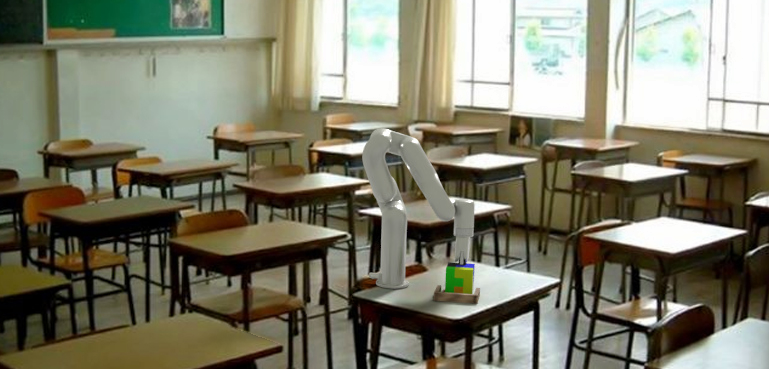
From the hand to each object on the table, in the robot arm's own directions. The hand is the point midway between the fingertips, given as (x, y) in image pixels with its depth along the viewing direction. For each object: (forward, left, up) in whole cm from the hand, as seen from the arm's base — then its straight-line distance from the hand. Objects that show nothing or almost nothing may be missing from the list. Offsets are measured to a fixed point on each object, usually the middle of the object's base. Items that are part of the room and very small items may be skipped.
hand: (462, 278), depth 410 cm
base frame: (0, -18, -3) cm, 18 cm away
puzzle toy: (0, -8, -3) cm, 9 cm away
